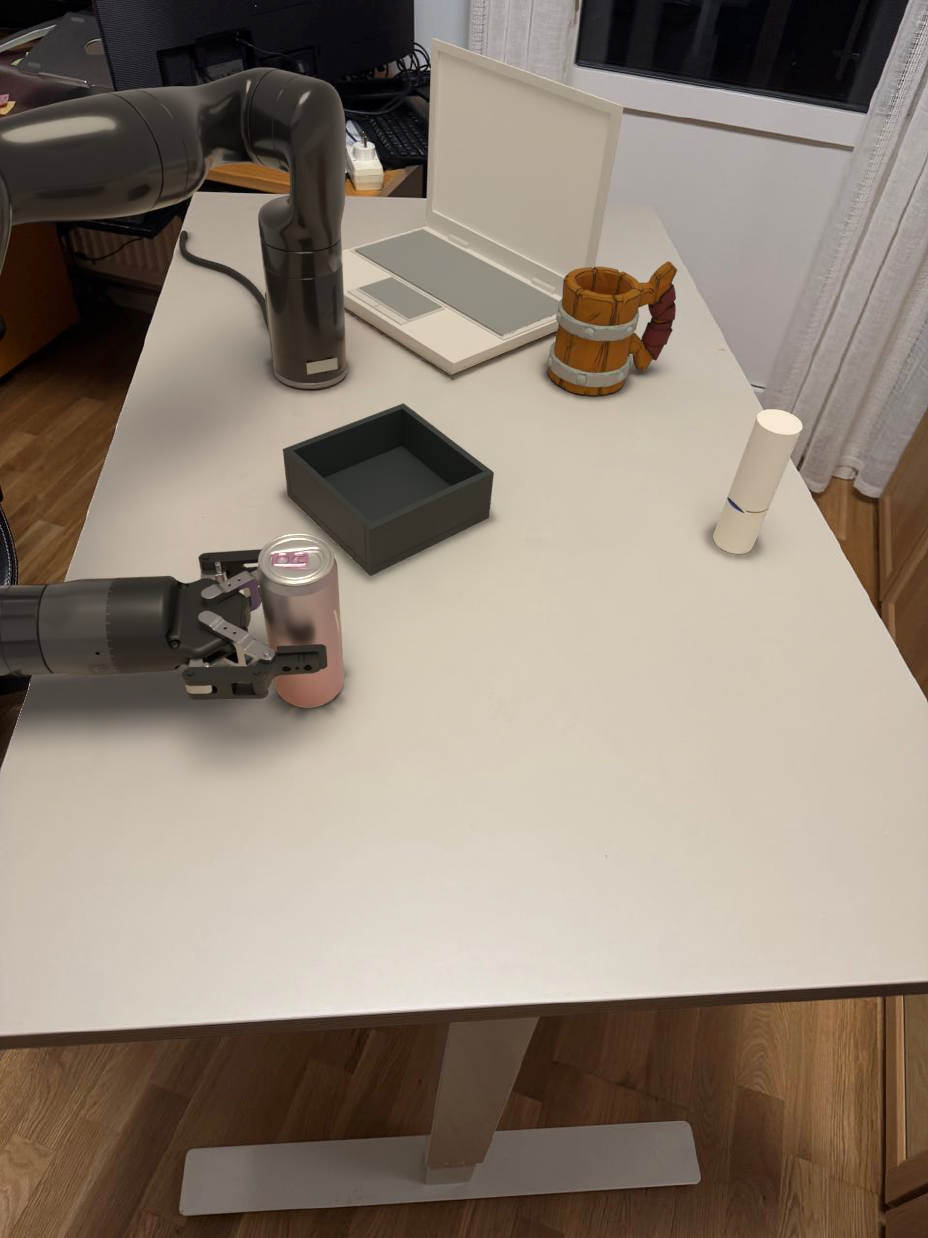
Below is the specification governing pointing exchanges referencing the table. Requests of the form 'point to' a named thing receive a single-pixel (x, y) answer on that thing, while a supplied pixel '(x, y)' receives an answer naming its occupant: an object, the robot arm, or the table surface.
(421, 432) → the bin
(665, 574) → the table surface
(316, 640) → the beverage can
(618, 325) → the mug
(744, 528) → the tube
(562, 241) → the laptop
